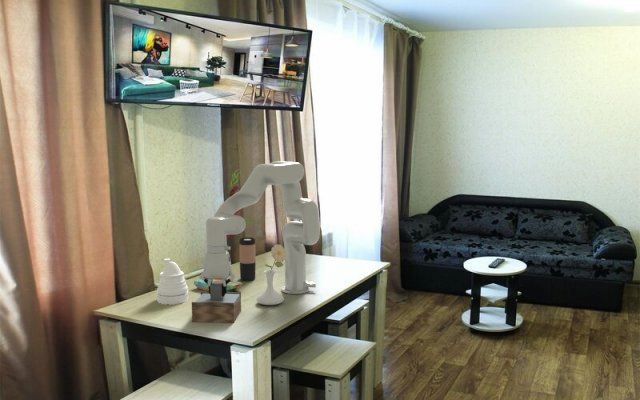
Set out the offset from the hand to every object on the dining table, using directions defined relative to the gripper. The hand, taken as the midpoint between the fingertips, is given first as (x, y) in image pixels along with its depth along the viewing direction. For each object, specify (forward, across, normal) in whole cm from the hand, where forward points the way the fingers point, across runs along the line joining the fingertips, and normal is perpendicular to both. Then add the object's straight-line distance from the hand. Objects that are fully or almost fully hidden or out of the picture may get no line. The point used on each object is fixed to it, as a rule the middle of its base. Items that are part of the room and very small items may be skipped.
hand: (217, 294), depth 220 cm
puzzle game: (+9, +9, -36) cm, 39 cm away
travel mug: (+9, -2, -55) cm, 56 cm away
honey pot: (+9, +24, -20) cm, 33 cm away
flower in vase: (+9, -19, -18) cm, 27 cm away
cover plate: (+2, 0, 0) cm, 2 cm away
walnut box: (+9, 0, 0) cm, 9 cm away
